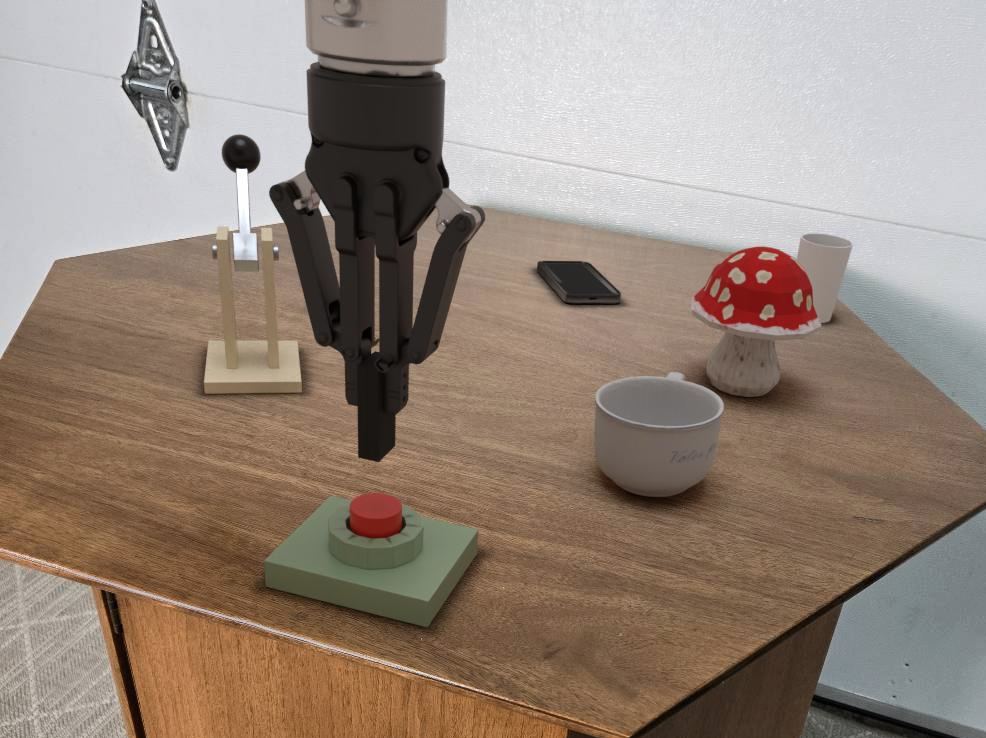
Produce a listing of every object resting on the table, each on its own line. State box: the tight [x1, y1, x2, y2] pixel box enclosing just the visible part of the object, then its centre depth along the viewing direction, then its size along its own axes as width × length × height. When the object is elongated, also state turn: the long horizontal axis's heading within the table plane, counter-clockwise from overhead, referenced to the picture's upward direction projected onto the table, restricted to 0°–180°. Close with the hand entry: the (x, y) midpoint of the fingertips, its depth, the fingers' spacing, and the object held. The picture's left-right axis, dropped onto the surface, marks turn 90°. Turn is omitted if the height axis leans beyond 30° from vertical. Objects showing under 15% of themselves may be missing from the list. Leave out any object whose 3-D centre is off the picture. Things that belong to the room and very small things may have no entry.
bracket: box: [203, 226, 303, 395], centre depth 95 cm, size 11×9×14 cm
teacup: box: [593, 371, 725, 498], centre depth 85 cm, size 14×11×8 cm
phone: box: [536, 260, 622, 305], centre depth 133 cm, size 8×1×15 cm
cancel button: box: [350, 492, 403, 539], centre depth 68 cm, size 4×4×2 cm
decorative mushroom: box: [690, 246, 822, 398], centre depth 103 cm, size 14×14×15 cm
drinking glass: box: [796, 232, 854, 324], centre depth 129 cm, size 7×7×10 cm
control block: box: [263, 495, 479, 628], centre depth 70 cm, size 12×10×4 cm
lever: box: [221, 133, 262, 273], centre depth 94 cm, size 13×4×4 cm
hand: (377, 451), depth 66 cm, fingers closed
